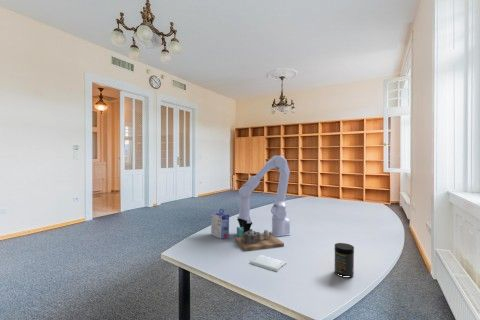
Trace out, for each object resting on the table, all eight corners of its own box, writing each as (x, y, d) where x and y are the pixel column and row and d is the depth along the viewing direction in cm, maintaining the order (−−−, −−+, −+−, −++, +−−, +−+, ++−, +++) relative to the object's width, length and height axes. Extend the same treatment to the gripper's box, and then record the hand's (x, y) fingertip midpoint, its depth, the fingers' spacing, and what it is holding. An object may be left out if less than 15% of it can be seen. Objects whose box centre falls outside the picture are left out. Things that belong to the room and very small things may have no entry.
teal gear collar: (248, 232, 139) (248, 225, 138) (253, 236, 132) (253, 229, 132) (236, 234, 136) (236, 227, 136) (240, 238, 129) (240, 230, 129)
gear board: (270, 236, 132) (270, 225, 132) (284, 246, 118) (284, 234, 118) (235, 240, 126) (235, 229, 126) (245, 251, 112) (245, 238, 112)
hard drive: (250, 260, 99) (277, 268, 92) (260, 254, 106) (286, 261, 99) (250, 264, 99) (277, 273, 92) (260, 258, 106) (286, 265, 99)
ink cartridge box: (229, 237, 131) (229, 210, 131) (221, 239, 128) (221, 212, 127) (218, 232, 139) (218, 207, 139) (210, 234, 135) (210, 208, 135)
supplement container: (354, 279, 86) (354, 250, 86) (333, 276, 89) (334, 247, 89) (353, 271, 92) (353, 244, 92) (334, 268, 95) (334, 241, 95)
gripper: (233, 206, 139) (233, 229, 140) (241, 211, 126) (241, 237, 126) (245, 205, 142) (245, 228, 142) (254, 210, 128) (254, 236, 128)
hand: (244, 233), depth 134 cm, fingers closed on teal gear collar, 6 cm apart
